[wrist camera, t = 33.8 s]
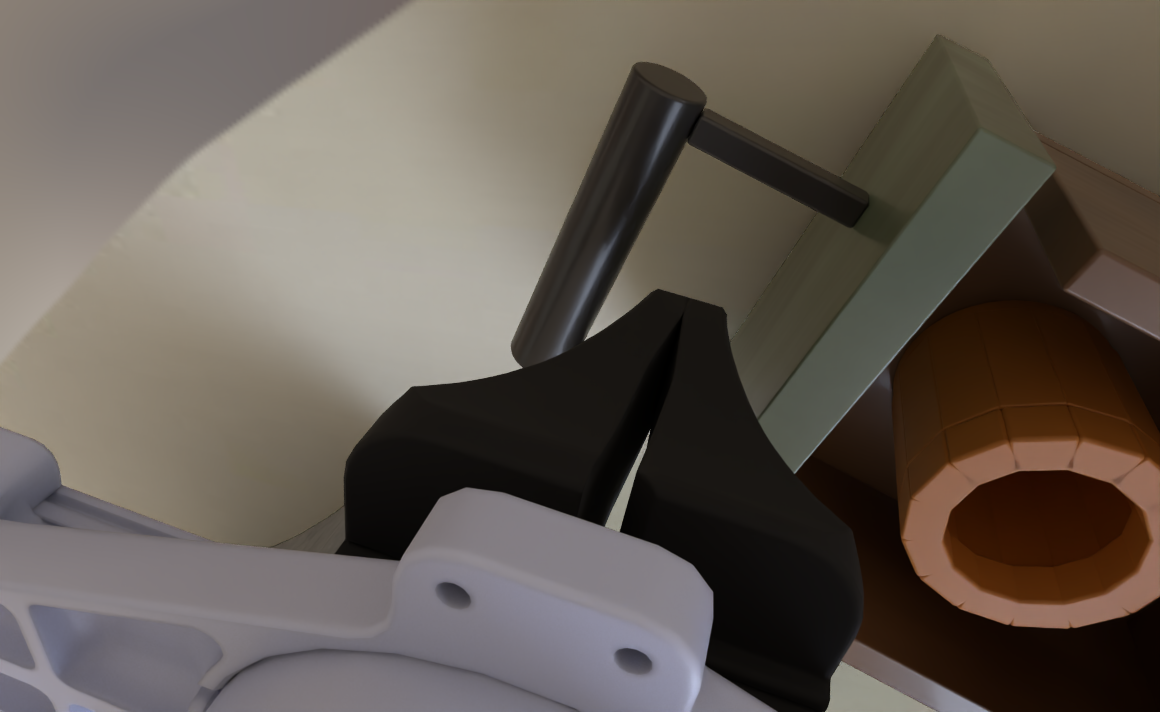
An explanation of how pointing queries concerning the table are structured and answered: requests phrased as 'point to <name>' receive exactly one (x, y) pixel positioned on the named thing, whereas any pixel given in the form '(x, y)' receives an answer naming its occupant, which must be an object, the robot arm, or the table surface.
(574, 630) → the robot arm
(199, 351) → the table surface
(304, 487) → the table surface
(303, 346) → the table surface
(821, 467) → the drawer
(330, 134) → the table surface
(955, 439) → the jar
